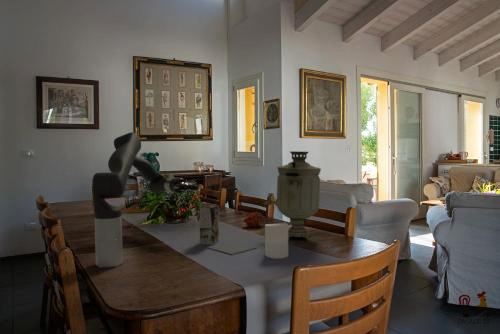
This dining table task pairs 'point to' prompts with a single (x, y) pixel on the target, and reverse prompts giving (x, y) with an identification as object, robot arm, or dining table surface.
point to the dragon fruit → (254, 219)
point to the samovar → (297, 193)
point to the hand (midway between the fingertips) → (196, 187)
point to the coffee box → (209, 224)
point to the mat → (231, 247)
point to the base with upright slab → (276, 240)
